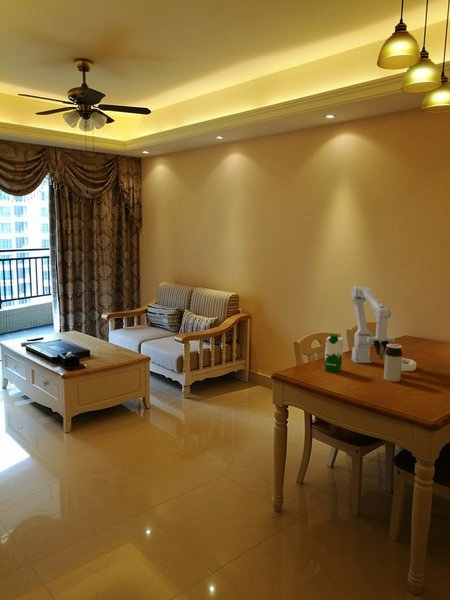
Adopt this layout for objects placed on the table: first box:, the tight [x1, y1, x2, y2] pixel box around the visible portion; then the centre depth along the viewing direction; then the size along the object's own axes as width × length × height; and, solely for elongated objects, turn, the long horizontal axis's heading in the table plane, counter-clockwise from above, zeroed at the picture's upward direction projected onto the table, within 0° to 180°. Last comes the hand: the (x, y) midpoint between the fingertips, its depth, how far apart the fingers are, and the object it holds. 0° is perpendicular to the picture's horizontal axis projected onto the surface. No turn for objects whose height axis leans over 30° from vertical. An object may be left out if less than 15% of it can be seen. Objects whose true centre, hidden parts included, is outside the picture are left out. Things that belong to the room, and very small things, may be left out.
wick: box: [376, 344, 385, 360], centre depth 254 cm, size 4×2×7 cm, turn 4°
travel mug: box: [383, 343, 403, 383], centre depth 238 cm, size 8×8×18 cm
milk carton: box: [324, 334, 344, 374], centre depth 252 cm, size 9×9×20 cm
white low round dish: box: [401, 357, 417, 372], centre depth 262 cm, size 14×14×4 cm
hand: (379, 354), depth 255 cm, fingers closed on wick, 2 cm apart
